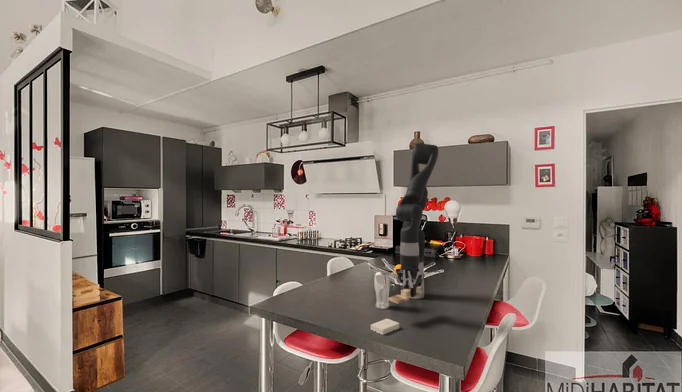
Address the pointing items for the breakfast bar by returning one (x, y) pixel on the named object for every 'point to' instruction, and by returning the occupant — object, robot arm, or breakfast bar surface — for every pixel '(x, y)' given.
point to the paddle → (405, 295)
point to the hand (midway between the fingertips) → (409, 295)
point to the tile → (385, 326)
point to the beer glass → (382, 289)
